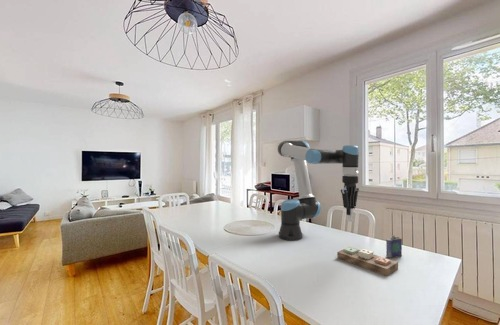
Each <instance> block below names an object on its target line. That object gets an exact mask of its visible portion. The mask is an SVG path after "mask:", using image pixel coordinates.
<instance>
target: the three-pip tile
mask: <svg viewBox="0 0 500 325" xmlns="http://www.w3.org/2000/svg"><path fill="white" fill-rule="evenodd" d="M385 258H386V257H383V258H382V256H380V257H379V258H377V259H375V262H376V263H379V264H382V265H385V266H387V265H389V264H391V260H392V259H390V258H387V259H385ZM389 259H390V260H389Z"/></svg>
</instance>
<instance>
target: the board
mask: <svg viewBox="0 0 500 325" xmlns="http://www.w3.org/2000/svg"><path fill="white" fill-rule="evenodd" d="M349 247H350V248H353V247H351V246H349ZM349 247H348V246H347V248H349ZM344 249H345V248H343V249H342V250H338V251H337V254H336V256H337V259H339V260H342V261H344V262H348V263H350V264H353V265H355V266H358V267H361V268H363V269H366V270H369V271H371V272H375V273H378V274H379V275H382V276H386V277H388V276H389V275H391V274H392V273H394V272H395V271H397V270H398V269H399V261H395V260H392V259H391V258H388V257H382V256H379V255H377V254H374V253H373V258H371V259H369V260H368V259H365V258H362V257H359V251H360V249H358V248H353V249H356V250H358V253H356V254H354V255H352V254H349V253H346V252H344ZM379 257H382V258H385V259H389V260H391V264H389V265H387V266H385V265H382V264H379V263H376V262H375V259H377V258H379Z"/></svg>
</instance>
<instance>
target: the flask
mask: <svg viewBox="0 0 500 325" xmlns="http://www.w3.org/2000/svg"><path fill="white" fill-rule="evenodd" d="M402 242H403V238H401V237H400V236H399V237H398V236H396V235H394V234H391V237H390V238H386V245H385V246H386V254H385V255H386V256H385V257H386V258H387V259H393V258H398V257H399V258H400V257H402V256H403V255H402V251H403V250H402V249H403V247H402V246H403V245H402Z"/></svg>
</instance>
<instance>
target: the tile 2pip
mask: <svg viewBox="0 0 500 325" xmlns="http://www.w3.org/2000/svg"><path fill="white" fill-rule="evenodd" d="M359 250H360V249H359ZM373 254H374V251H371V250H368V249H365V248H362V249H361V250H360V251H359V257H362V258H365V259H368V260H369V259H371V258H373Z"/></svg>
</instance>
